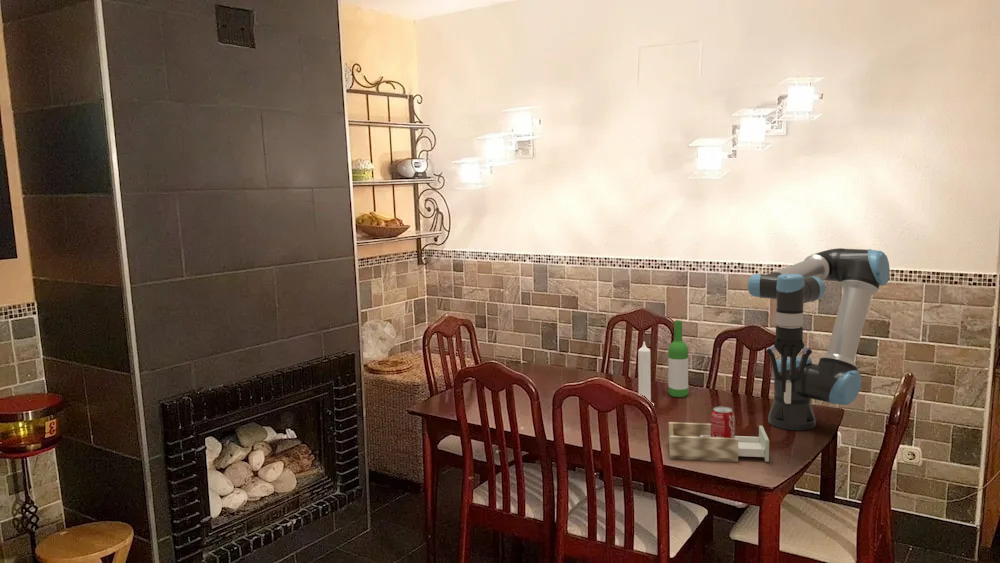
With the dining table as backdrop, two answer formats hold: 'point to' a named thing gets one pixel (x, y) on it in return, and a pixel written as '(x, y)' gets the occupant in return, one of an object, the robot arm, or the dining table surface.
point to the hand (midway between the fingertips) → (787, 402)
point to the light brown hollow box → (700, 443)
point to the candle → (644, 372)
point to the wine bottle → (678, 364)
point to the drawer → (753, 445)
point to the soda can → (722, 422)
